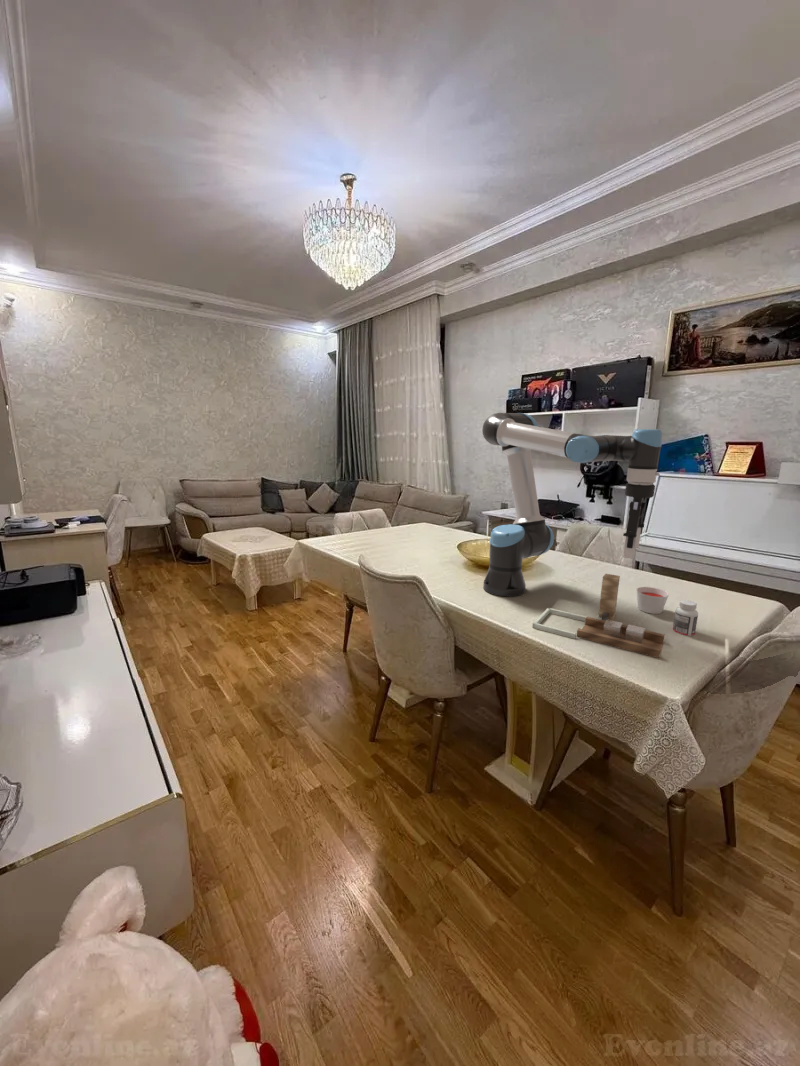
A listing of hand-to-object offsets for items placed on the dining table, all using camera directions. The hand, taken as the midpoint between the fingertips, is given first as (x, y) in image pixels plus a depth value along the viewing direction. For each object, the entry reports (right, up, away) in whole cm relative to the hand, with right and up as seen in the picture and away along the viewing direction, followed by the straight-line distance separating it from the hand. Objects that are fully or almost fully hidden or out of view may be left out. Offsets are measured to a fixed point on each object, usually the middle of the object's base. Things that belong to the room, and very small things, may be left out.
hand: (631, 552), depth 131 cm
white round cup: (+11, -19, +9) cm, 24 cm away
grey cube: (-11, -23, -11) cm, 28 cm away
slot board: (-10, -24, -12) cm, 29 cm away
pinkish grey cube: (-7, -24, -14) cm, 29 cm away
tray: (-23, -22, -3) cm, 32 cm away
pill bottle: (+11, -23, -8) cm, 27 cm away
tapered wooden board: (-6, -21, +2) cm, 22 cm away
